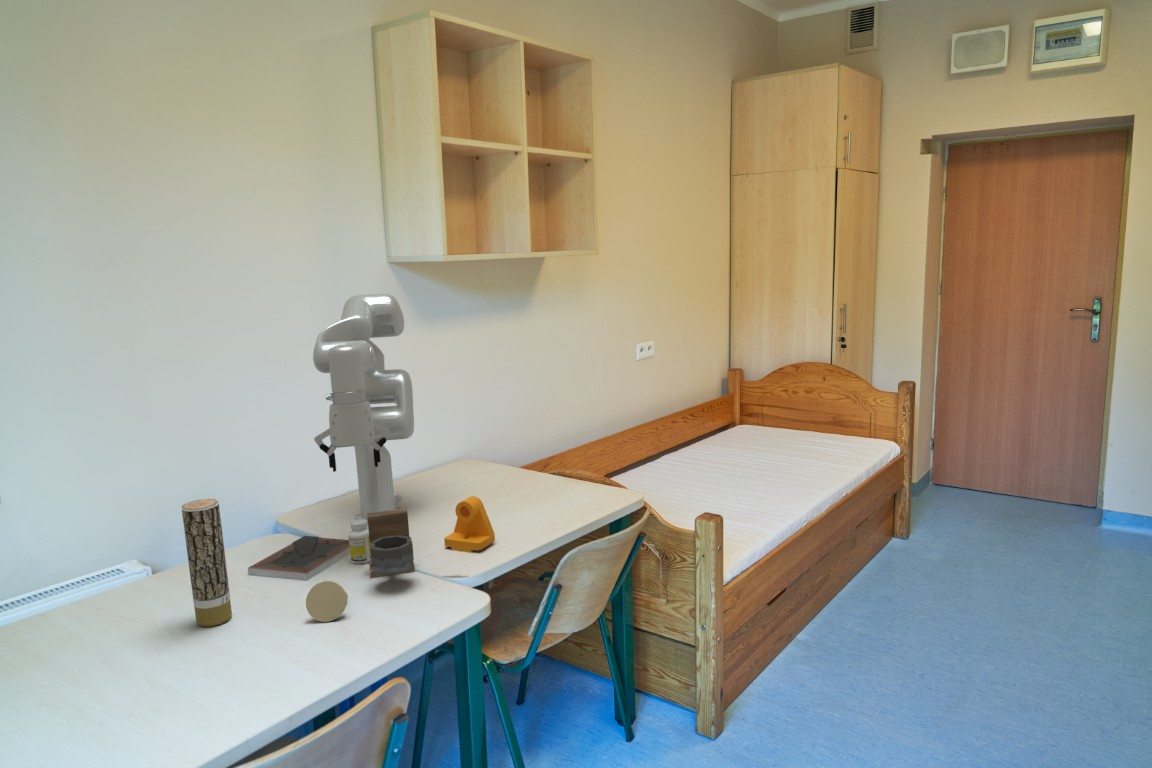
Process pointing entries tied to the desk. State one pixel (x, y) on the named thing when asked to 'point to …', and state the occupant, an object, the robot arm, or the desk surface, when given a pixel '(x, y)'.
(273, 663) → the desk surface
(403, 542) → the cup bracket
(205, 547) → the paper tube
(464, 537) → the bracket
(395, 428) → the robot arm
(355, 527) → the supplement bottle
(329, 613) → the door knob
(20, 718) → the desk surface
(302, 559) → the picture frame
